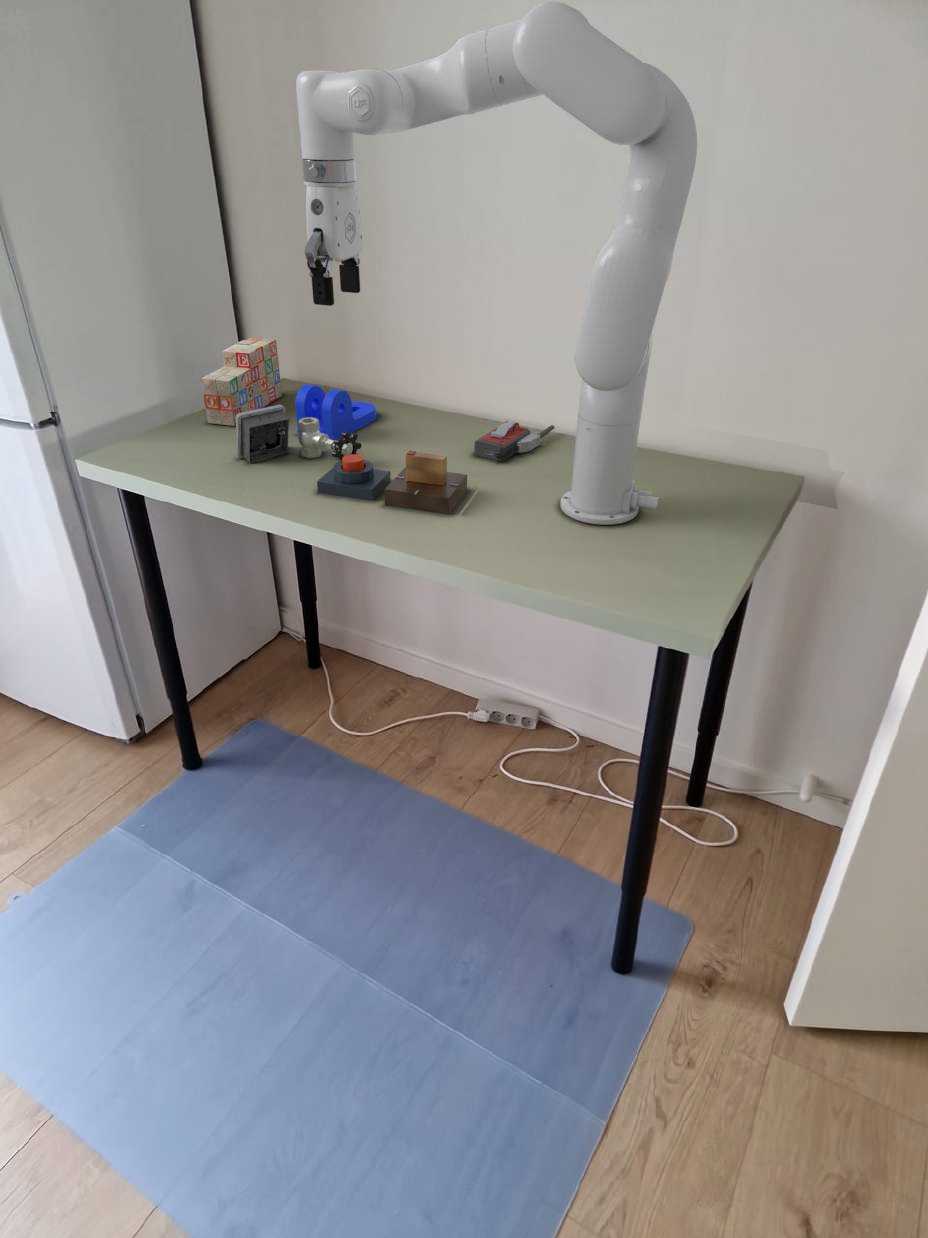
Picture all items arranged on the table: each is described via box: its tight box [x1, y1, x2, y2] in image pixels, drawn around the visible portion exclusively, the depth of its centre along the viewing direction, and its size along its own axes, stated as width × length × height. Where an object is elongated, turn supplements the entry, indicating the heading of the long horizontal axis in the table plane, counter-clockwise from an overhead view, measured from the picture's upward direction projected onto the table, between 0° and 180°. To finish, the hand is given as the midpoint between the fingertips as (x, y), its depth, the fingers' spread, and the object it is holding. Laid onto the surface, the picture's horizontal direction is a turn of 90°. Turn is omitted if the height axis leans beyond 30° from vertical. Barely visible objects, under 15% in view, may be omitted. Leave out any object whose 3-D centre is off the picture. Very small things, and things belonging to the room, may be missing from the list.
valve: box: [298, 417, 363, 464], centre depth 147 cm, size 7×7×12 cm
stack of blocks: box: [201, 337, 283, 427], centre depth 169 cm, size 21×6×12 cm, turn 165°
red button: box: [342, 453, 365, 471], centre depth 136 cm, size 4×4×2 cm
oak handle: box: [405, 449, 448, 486], centre depth 132 cm, size 6×2×5 cm, turn 73°
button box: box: [316, 459, 392, 502], centre depth 137 cm, size 10×8×4 cm
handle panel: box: [383, 466, 468, 516], centre depth 134 cm, size 11×11×3 cm
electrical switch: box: [235, 404, 290, 464], centre depth 147 cm, size 9×5×9 cm, turn 128°
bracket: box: [294, 383, 377, 441], centre depth 162 cm, size 18×8×9 cm, turn 152°
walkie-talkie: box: [473, 420, 556, 462], centre depth 154 cm, size 9×4×20 cm
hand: (337, 298), depth 127 cm, fingers open, 9 cm apart
